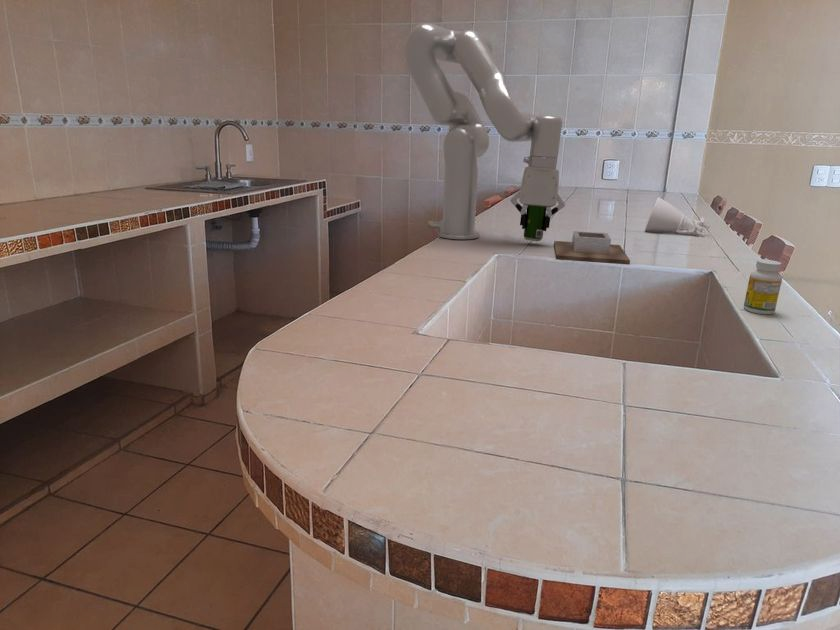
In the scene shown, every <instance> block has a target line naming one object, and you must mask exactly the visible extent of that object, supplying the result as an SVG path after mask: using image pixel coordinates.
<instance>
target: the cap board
mask: <svg viewBox="0 0 840 630" xmlns="http://www.w3.org/2000/svg"><path fill="white" fill-rule="evenodd" d="M611 243H612V238H611V237H610V236H609V234H608V233H607V232H594V231H578V230H577V231H575V230H573V231H572V239H571V241H564V240H563V241H562V240H561V241H560V240H554V243H553V247H554V252H555V259H556V260H563V261H579V262H592V263H608V264H622V265H630V264H631V260H630V258H629V257H628V255H627V254H626V252H625V250H624V249H623V248H622V246H621V244H611Z"/></svg>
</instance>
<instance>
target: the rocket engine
mask: <svg viewBox="0 0 840 630" xmlns="http://www.w3.org/2000/svg"><path fill="white" fill-rule="evenodd" d="M705 219H706V218H705V217H701V218H700V220H697V219H695V218H694V219H692V220H691V219H690V218H689V217H688V216H686V213H685V214H684V213H683V212H682V211H680V210H679V209H678V208H677V207H675V206H674V205H672V204H671V203H669V202H668V201H666V200H664V199H662V198H661V197H659V196H658V197H657V199H656V201H655V204H654V205H653V208H652V211H651V213H650V216H649V218H648V220H647V223H646V226H645V229H644V231H645V232H648V233H649V232H651V233H676V234H680V235H681V234H682V235H684V234H685V235H686V234H690V235H692V236H695V235H696V236H698V237H700V236H701V237H703V236H704V237H705V236H706V232H703V231H704V229H710V227H711V224H708V223H706V222H705Z"/></svg>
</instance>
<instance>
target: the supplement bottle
mask: <svg viewBox="0 0 840 630" xmlns="http://www.w3.org/2000/svg"><path fill="white" fill-rule="evenodd" d="M755 267H756V269H755V270H752V272H750V274H749V278H748V284H747V288H746V292H745V297H744V303H743V309H744V310H745V311H747V312H750V313H753V314H757V315H773V314H774V313H775V311H776V308H777V304H778V299H779V294H780V291H781V286H782V283H783V276H782V275H781V274H780V273H779V272H780V271H781V269H782V268H781V267H782V262H780V261H777V260H772V259H757V261H756V264H755Z"/></svg>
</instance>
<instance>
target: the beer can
mask: <svg viewBox="0 0 840 630" xmlns="http://www.w3.org/2000/svg"><path fill="white" fill-rule="evenodd" d="M546 214H547V210H546V207H543V206H539V205H528V207H527V209H526V221H525V229H523V238H524V239H525V240H526V241H529V242H540V241H542V240H543V238H544V232H545V231H544V223H545V217H546ZM524 239H523V240H524Z"/></svg>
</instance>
